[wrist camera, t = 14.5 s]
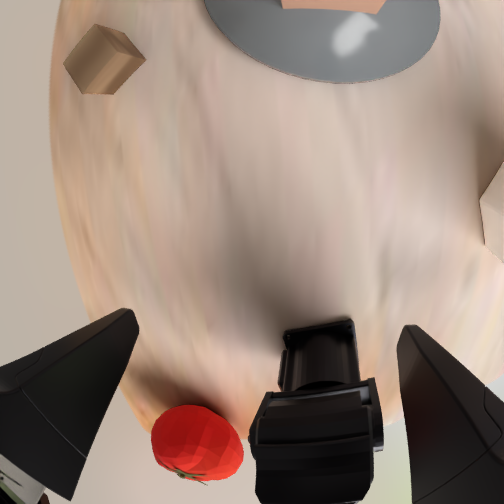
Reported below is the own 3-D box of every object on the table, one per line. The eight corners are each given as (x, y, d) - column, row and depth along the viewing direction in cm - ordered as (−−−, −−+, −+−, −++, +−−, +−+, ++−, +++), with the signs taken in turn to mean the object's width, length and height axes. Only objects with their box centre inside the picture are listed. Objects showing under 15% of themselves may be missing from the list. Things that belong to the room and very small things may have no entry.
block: (146, 60, 16) (117, 52, 13) (113, 94, 18) (82, 93, 14) (124, 33, 15) (94, 23, 12) (94, 66, 17) (62, 63, 13)
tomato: (150, 387, 34) (119, 446, 24) (230, 390, 30) (206, 466, 21) (191, 434, 39) (172, 485, 29) (261, 438, 35) (248, 498, 26)
